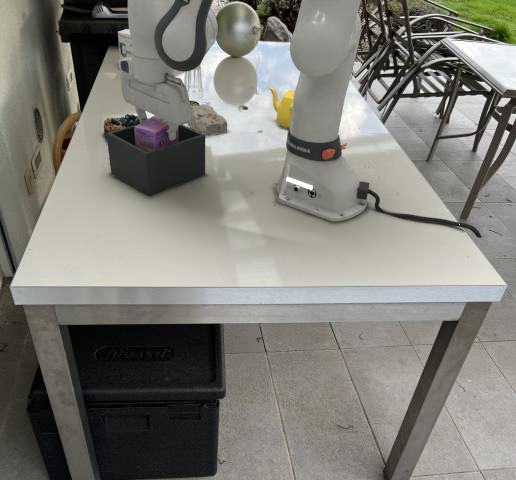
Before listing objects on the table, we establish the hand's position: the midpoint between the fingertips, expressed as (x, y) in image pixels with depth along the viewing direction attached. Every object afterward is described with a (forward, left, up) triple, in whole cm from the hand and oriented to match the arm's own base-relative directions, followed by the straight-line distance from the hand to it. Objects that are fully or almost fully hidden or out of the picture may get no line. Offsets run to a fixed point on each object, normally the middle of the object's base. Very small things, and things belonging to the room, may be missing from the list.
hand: (157, 132), depth 124 cm
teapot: (+1, -53, -11) cm, 54 cm away
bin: (0, 0, -10) cm, 10 cm away
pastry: (+23, -8, -11) cm, 27 cm away
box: (0, 0, -10) cm, 10 cm away
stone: (+15, -30, -11) cm, 35 cm away
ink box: (+70, -46, -11) cm, 85 cm away
